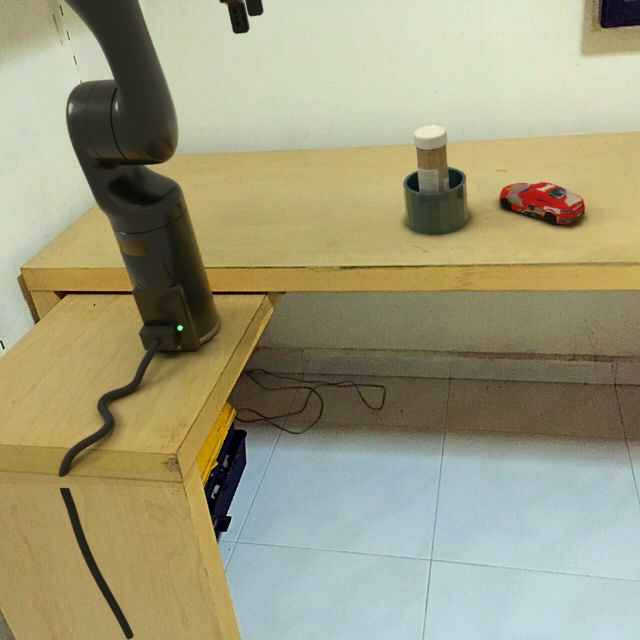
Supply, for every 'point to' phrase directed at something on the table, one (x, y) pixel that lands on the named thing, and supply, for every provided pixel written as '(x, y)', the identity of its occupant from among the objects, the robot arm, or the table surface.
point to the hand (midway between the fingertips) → (249, 23)
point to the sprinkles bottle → (432, 159)
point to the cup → (436, 205)
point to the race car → (543, 201)
